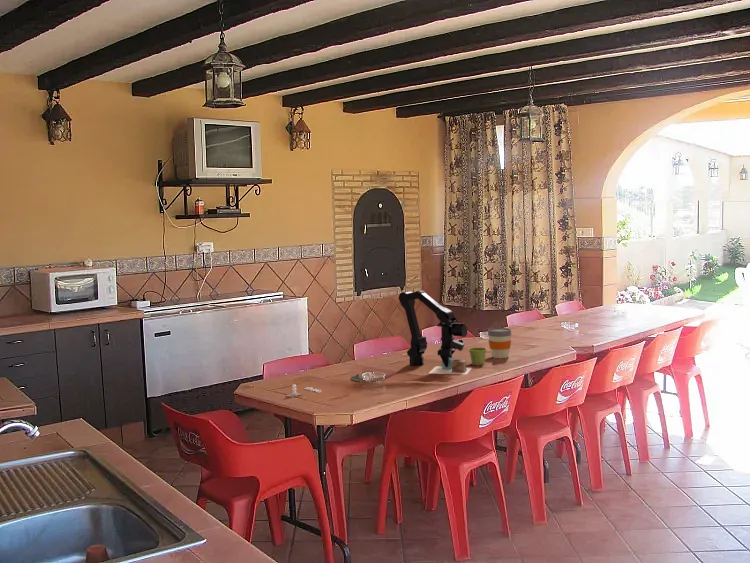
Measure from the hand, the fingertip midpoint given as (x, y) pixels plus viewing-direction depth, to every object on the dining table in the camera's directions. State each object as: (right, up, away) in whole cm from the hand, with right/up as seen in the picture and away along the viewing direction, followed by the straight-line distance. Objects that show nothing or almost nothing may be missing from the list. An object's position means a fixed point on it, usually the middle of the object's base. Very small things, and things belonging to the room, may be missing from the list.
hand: (447, 366), depth 385 cm
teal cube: (0, -1, 0) cm, 1 cm away
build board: (+1, -3, -5) cm, 6 cm away
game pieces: (-60, -8, -28) cm, 67 cm away
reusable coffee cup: (+31, +2, +28) cm, 42 cm away
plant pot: (+16, -1, +9) cm, 19 cm away
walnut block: (+5, -2, -8) cm, 9 cm away
